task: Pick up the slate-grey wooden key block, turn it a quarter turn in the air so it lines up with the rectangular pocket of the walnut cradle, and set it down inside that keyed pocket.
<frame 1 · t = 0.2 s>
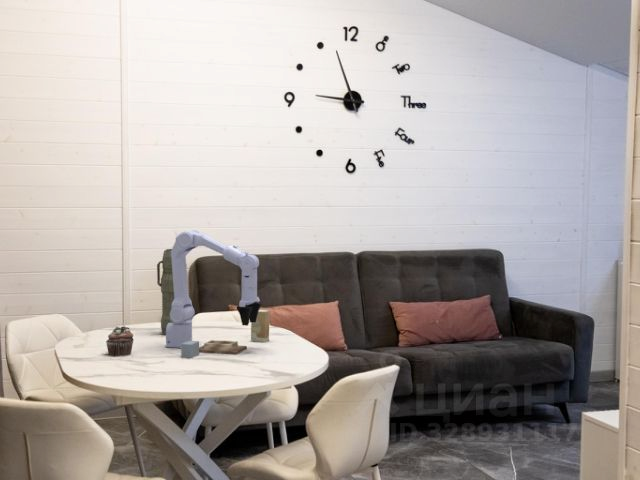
hand: (249, 323, 315), 10 cm above the table, tool pointing down, fingers open, 7 cm apart
key block: (190, 356, 304), on the table
cupcake: (119, 354, 307), on the table
skincare box: (260, 341, 336), on the table
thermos: (171, 334, 351), on the table
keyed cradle: (221, 350, 315), on the table
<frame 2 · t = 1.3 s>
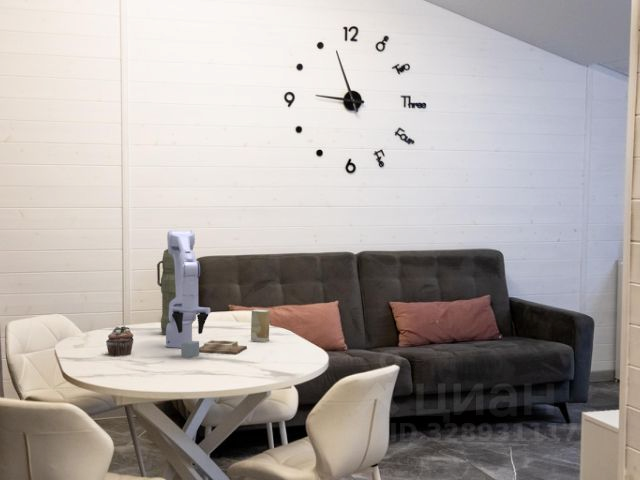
hand: (190, 333, 304), 8 cm above the table, tool pointing down, fingers open, 7 cm apart
nothing on the table moved.
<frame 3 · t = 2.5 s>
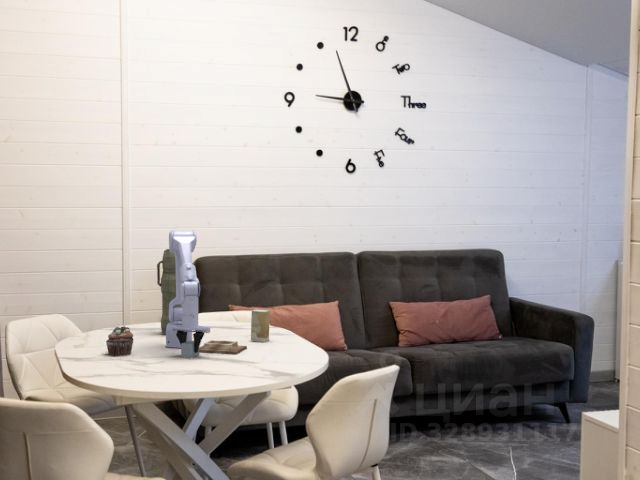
hand: (190, 352, 304), 1 cm above the table, tool pointing down, fingers closed on key block, 4 cm apart
key block: (190, 356, 304), on the table, touching gripper
everything else where it was.
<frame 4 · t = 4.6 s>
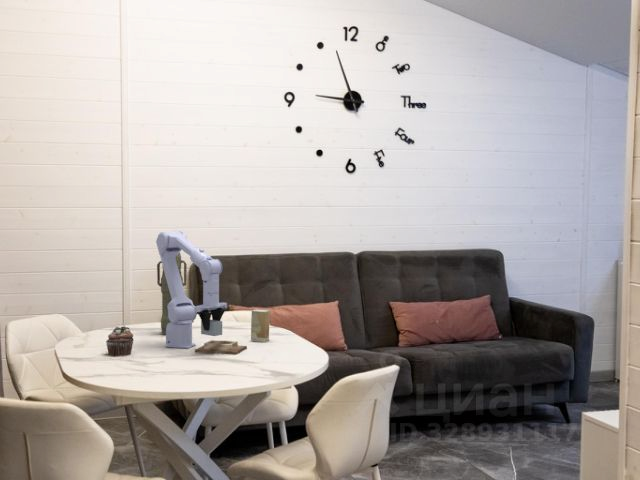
hand: (211, 329, 311), 8 cm above the table, tool pointing down, fingers closed on key block, 4 cm apart
key block: (211, 334, 311), point 7 cm above the table, touching gripper
everything else where it was.
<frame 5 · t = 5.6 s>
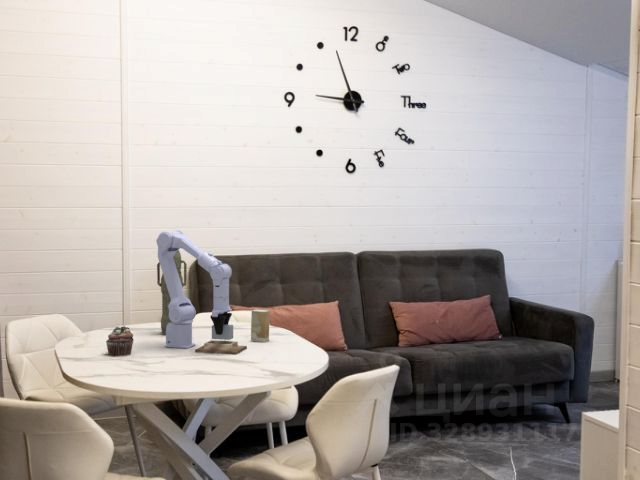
hand: (221, 333, 315), 6 cm above the table, tool pointing down, fingers closed on key block, 4 cm apart
key block: (222, 338, 315), point 4 cm above the table, touching gripper
everything else where it was.
when the fingers open (4 cm above the table, at t = 6.5 s): key block stays where it is, resting on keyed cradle.
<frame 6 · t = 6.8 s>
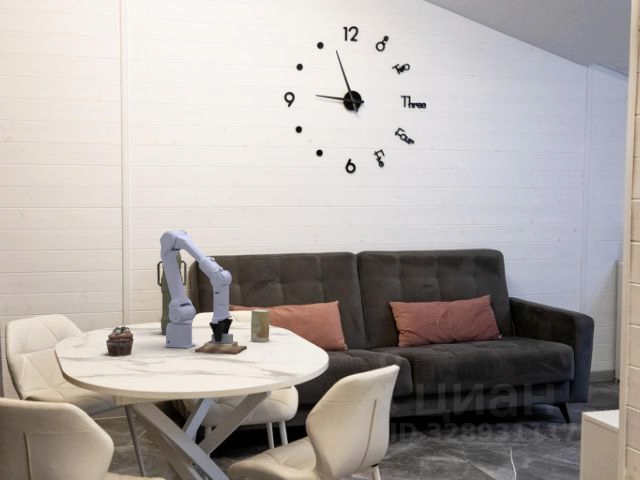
hand: (221, 339, 315), 4 cm above the table, tool pointing down, fingers open, 6 cm apart
key block: (222, 347, 315), point 1 cm above the table, touching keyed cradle
everything else where it was.
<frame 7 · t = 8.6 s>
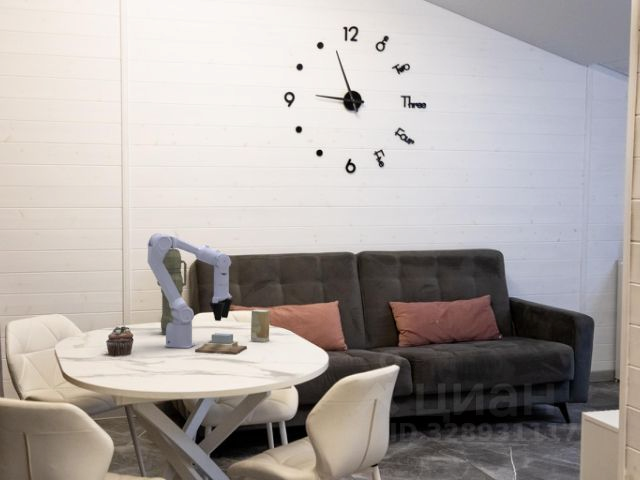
hand: (221, 319, 329), 9 cm above the table, tool pointing down, fingers open, 7 cm apart
nothing on the table moved.
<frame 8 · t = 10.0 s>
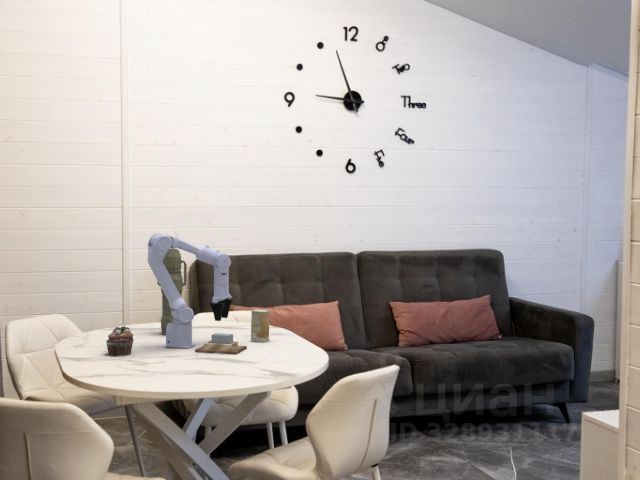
hand: (221, 319, 330), 9 cm above the table, tool pointing down, fingers open, 7 cm apart
nothing on the table moved.
at the end: key block 0.5 cm off-centre on the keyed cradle, point 1.0 cm above the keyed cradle's base; key block tilted 0°; the gripper is holding nothing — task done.
